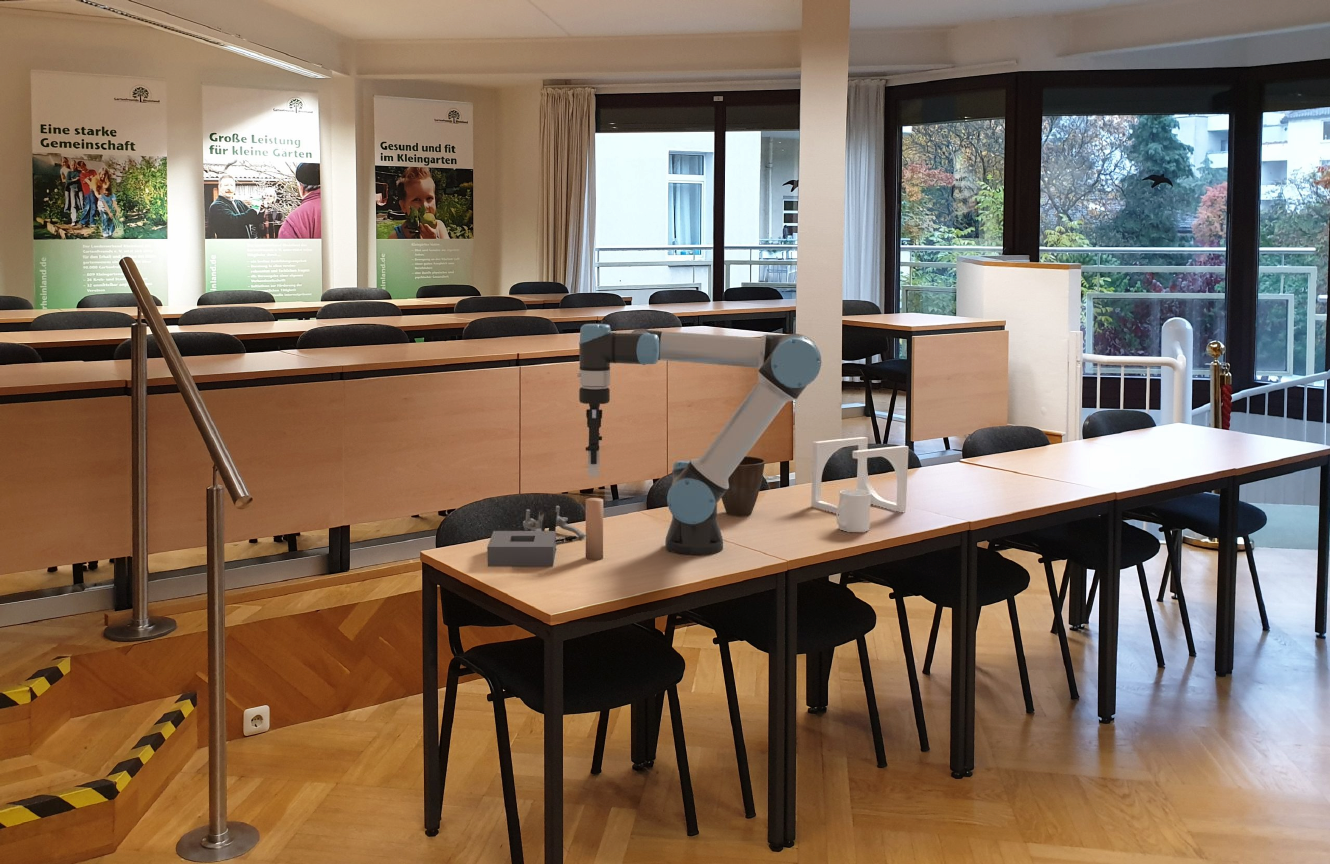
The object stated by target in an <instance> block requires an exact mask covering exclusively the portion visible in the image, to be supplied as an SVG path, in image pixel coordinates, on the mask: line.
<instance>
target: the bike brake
mask: <svg viewBox="0 0 1330 864" xmlns="http://www.w3.org/2000/svg"><path fill="white" fill-rule="evenodd" d="M560 508H561V507H560V506H559V505H556V506H555V510H554V509H553V508H550V512H549V520H548V521H549V522H548V531H556V529H557V528H558V527H559V528H561V529H562V530H565V531H567V532H570V533H573V534H575V535H570V536H566V537H564V536H561V537H556V544H561V543H562V544H563V543H565V542H572V541H574V540H577V539H579V540H580V539H581V540H582V539H583V540H584V539H586V533H583V532H582V531H581V530H580V529H579V528H576V527H574V526H572V525H570V524H568V523H567V522H568V521H569V518H568V517H564V516H563V517H562V516H560ZM538 511H539V512H538V519H537V520H536V519H534V518H532V517H531V516H530V515H531V509H526V512H525V520H523V522H522V526H523V529H524V531H546V521H547V514H546V512H545V511H543V510H542V509H540V510H538ZM556 551H557V548H556Z"/></svg>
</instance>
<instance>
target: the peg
mask: <svg viewBox="0 0 1330 864" xmlns="http://www.w3.org/2000/svg"><path fill="white" fill-rule="evenodd" d="M585 535H586V536H585V559H586V560H588V561H600V560H603V559H604V499H603V498H600V497H599V498H598V497H589V498H586V499H585Z"/></svg>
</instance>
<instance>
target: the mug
mask: <svg viewBox="0 0 1330 864" xmlns="http://www.w3.org/2000/svg"><path fill="white" fill-rule="evenodd" d="M838 496H839V500H838V505H837V506H838V507H837V512H836V514H835V515H836V516H835V517H836V523H837V525H838V529H839V530H840V531H841V530H843V531H842V532H844V531H847V532H846V533H849V532H863V533H866V531H867V532H868V531H870V530H869V529H870V525H871V524H870V521H871V504H870V501H871V493H870V492H869V491H865V490H858V489H857V488H855V489H853V488H850V489H842V490H840V491H839V495H838ZM838 513H839V515H838Z"/></svg>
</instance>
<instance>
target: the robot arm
mask: <svg viewBox="0 0 1330 864" xmlns="http://www.w3.org/2000/svg"><path fill="white" fill-rule="evenodd" d="M579 331H580V332H579V342H578V344H579V347H578V348H579V352H578V353H579V355H578V356H579V372H577V374H576V377H577V378H579V385H580V386H581V387H580V388H579V390H578V392H579V393H578V394H579V395H578V399H579V403H581V404H586V405H588V406H589V409H588V408H586V411H585V418H586V425H587V428H588V446H586V447H585V451H586V452H587V478H599V477H600V443H601V441H603V435H602V436H601V434H600V428H601V427H602V419H603V409H600V407H601V405H606V404H608V403H609V402H610V400H611V399H610V398H611V397H610V396H611V395H610V393H611V392H610V391H611V390H610V386H611V367H610V366H611V364H624V365H625V364H626V365H629V364H631V365H642V366H646V365H656V364H657V363H658V362H659V361H667V362H678V363H679V362H680V363H691V364H702V365H703V364H704V365H716V366H733V367H740V368H741V367H745V368H755V369H758V371H757V375H758V376H757V377H758V379H757V382H756V384H755V385H754V386H753V388H752V389H751V390H750V392H749V393H748V394H747V395H746V397H744V399H743V401H742V402H741V403H740V405H739V406H737V408H736V410H735V411H734V412H733V414H732V415H731V417H730V418H729V419H728V420H727V422H726V423H725V424H724V425H723V427H722V428H721V429H720V431H719V433H718V434H717V435H716V436H715V438H714V439H713V440H712V442H711V443H710V444H709V446H708V447H707V448H706V450H705V451H704V452H703V454H702V455H701V456H699V457H698V458H697V457H696V458H691V460H679V461H678V460H677V461H676V462H674V463H673V467H672V470H671V471H672V472H671V473H672V482H671V483H672V484H671V486H670V487H669V489H668V492H667V494H666V495H667V496H666V501H667V508H668V510H669V512H670V513H671V515H672V519H671V522H670V524H669V528H668V530H667V533H666V537H665V543H664V544H665V549H666V550H668V551H670V552H672V553H677V554H683V555H694V556H697V555H710V554H716V553H718V552H721V551H723V549H724V539H723V535H722V532H721V529H720V525H719V522H718V503H719V502H720V500H722V499H721V497H722V496H723V495H724V493H725V492H726V491H727V489H728V488H729V484H728V478H729V477H730V475H731V474H732V473H733V471H734V470H735V469H736V468H737V466H738V465H739V464H740V462H741V461H742V460H743V458H744V457H745V456H747V455H748V454H749V452H750V451H751V450H752V448H753V446H755V444H756V443H757V442H758V440H759V439H760V437H761V436H762V435H763V434H764V432H766V429H768V427H769V425H770V424H771V423H772V422H773V420H774V419H775V418H776V417H777V415H778V414H779V412H780V411H781V410H782V408H783V407H784V406H785V405H786V403H788V402H793V401H797V399H798V398H799V397H800V395H801V394H802V393H803V392H804V390H805V389H806V387H807V386H808V385H810V384H811V383H813V382H814V381H815V380H816V378H817V377H818V375H819V373H820V372H821V367H822V356H821V352H820V350H819V348H818V347H817V345H816V343H815V342H814V341H813V340H812V339H811V338H810V337H808V336H806V335H804V334H802V333H788V334H767V333H765V334H763V335H762V336H761V337H751V336H738V335H737V336H736V335H724V334H708V333H693V332H680V331H665V330H650V329H648V328H637V329H634V330H633V331H631V332H625V333H623V332H612V329H611V326H610V324H607V323H585V324H583V325H582V326H581V327H580V330H579Z"/></svg>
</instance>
